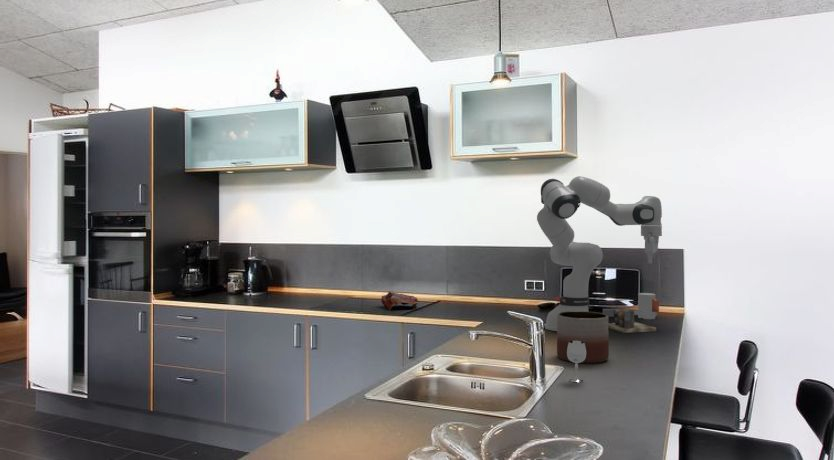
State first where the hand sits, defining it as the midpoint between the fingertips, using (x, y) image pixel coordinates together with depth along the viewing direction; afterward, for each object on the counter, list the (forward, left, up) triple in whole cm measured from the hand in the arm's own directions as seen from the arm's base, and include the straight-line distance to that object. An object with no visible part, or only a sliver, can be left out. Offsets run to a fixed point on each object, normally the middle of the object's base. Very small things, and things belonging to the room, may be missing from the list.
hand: (651, 262), depth 274 cm
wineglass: (-76, -73, -30) cm, 110 cm away
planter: (-59, -46, -30) cm, 81 cm away
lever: (-9, +3, -25) cm, 26 cm away
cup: (+17, +27, -30) cm, 44 cm away
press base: (-9, +2, -30) cm, 31 cm away
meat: (-96, +91, -30) cm, 136 cm away
